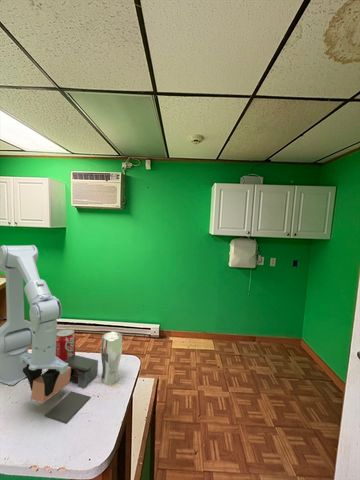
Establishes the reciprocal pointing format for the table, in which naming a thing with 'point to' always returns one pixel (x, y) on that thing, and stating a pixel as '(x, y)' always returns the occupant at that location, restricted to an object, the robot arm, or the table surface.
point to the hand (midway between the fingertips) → (42, 391)
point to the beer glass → (111, 356)
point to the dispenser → (83, 369)
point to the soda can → (65, 344)
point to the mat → (67, 407)
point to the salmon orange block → (39, 387)
